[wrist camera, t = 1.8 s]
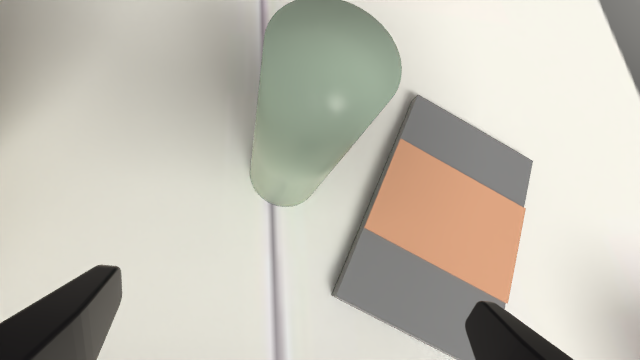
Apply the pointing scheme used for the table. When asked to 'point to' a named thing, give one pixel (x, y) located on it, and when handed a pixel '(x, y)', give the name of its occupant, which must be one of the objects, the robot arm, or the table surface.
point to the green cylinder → (317, 93)
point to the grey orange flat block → (438, 230)
